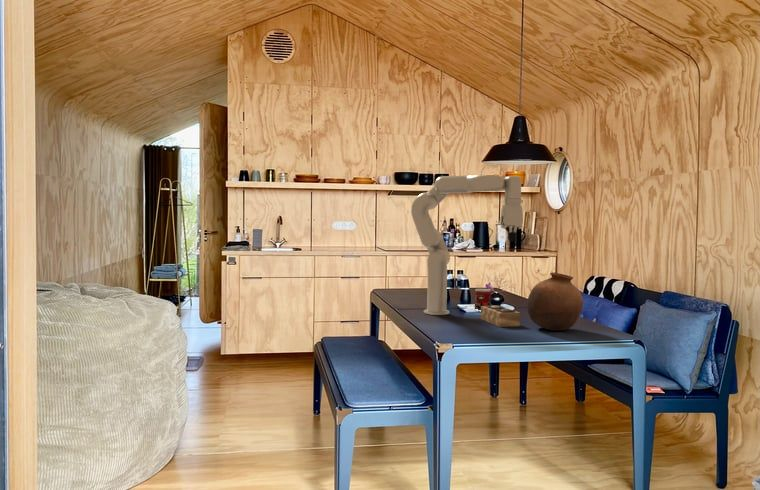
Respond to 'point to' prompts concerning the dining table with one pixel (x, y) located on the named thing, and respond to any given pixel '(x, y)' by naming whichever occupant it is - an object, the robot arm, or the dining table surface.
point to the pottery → (555, 303)
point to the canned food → (482, 298)
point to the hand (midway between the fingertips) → (511, 240)
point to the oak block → (500, 316)
